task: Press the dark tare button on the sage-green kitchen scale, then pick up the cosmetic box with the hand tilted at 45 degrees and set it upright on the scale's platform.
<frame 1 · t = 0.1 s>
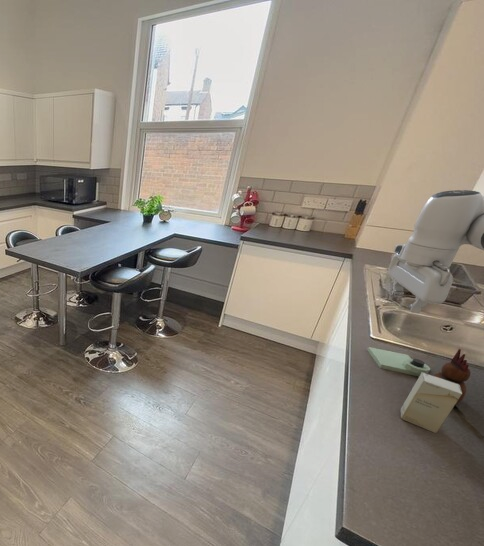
hand: (404, 304, 84), 23 cm above the worktop, tool pointing down, fingers open, 8 cm apart
kitchen scale: (393, 363, 97), on the worktop
tare button: (417, 363, 92), point 3 cm above the worktop, slide at 0.1 cm
wooden figurine: (438, 400, 83), on the worktop
cosmetic box: (417, 421, 76), on the worktop
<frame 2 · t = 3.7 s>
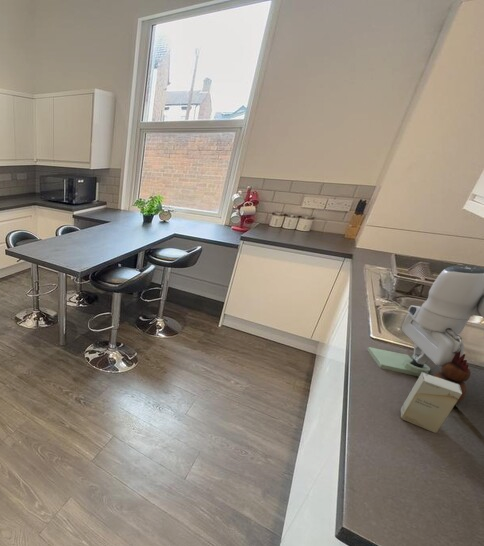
hand: (417, 361, 92), 4 cm above the worktop, tool pointing down, fingers closed, pressing on tare button
tare button: (417, 363, 92), point 3 cm above the worktop, slide at 0.0 cm, touching gripper
everything else where it was.
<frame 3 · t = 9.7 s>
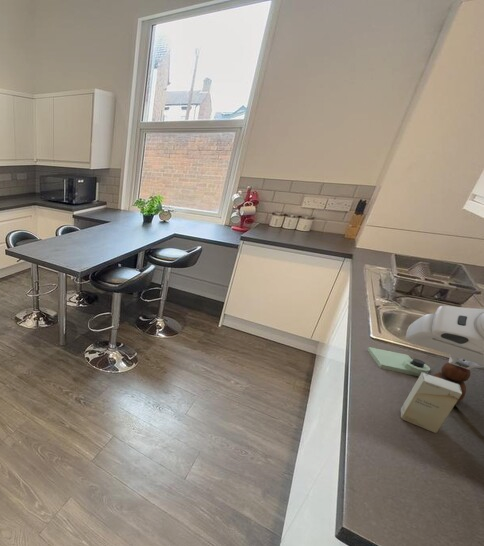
hand: (458, 363, 66), 20 cm above the worktop, tool tilted 35°, fingers closed
tare button: (417, 363, 92), point 3 cm above the worktop, slide at 0.1 cm
everything else where it was.
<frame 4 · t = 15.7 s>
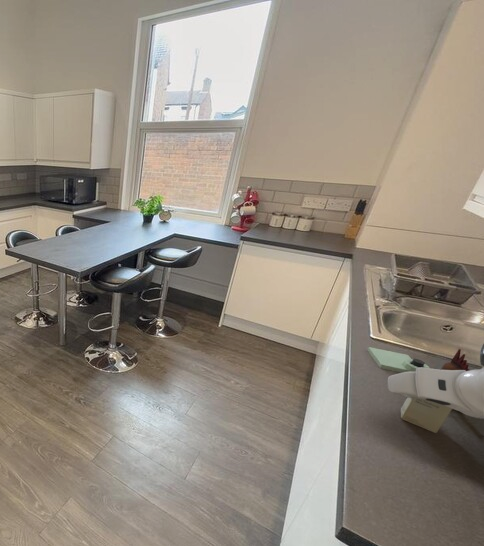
hand: (428, 398, 74), 7 cm above the worktop, tool tilted 45°, fingers closed on cosmetic box, 7 cm apart
cosmetic box: (417, 421, 76), on the worktop, touching gripper
everything else where it was.
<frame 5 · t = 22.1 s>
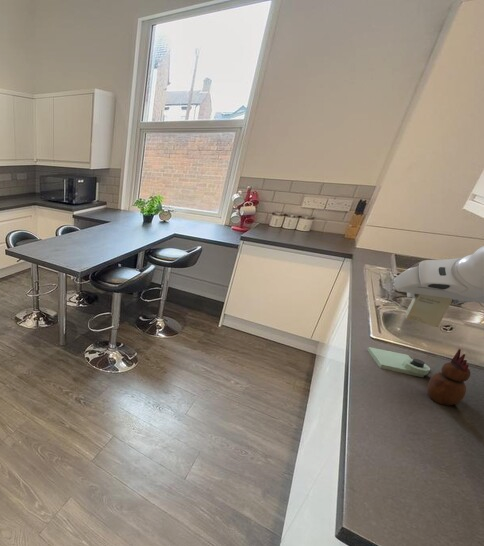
hand: (430, 298, 83), 25 cm above the worktop, tool tilted 45°, fingers closed on cosmetic box, 7 cm apart
cosmetic box: (420, 321, 85), point 18 cm above the worktop, touching gripper
everything else where it was.
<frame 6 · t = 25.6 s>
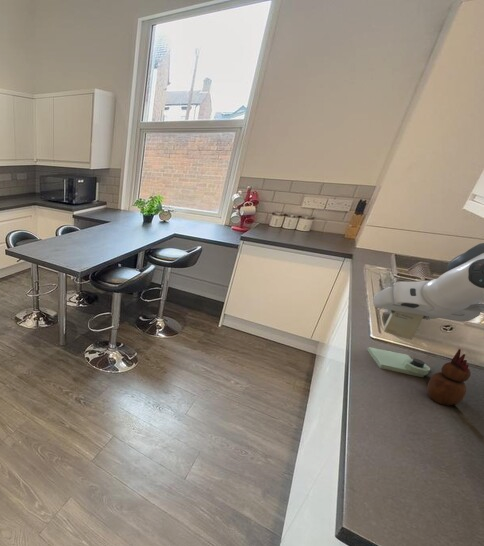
hand: (405, 314, 93), 16 cm above the worktop, tool tilted 45°, fingers closed on cosmetic box, 7 cm apart
cosmetic box: (397, 334, 95), point 9 cm above the worktop, touching gripper
everything else where it was.
when the fingers open (8 cm above the worktop, at t = 28.6 s): cosmetic box stays where it is, resting on kitchen scale.
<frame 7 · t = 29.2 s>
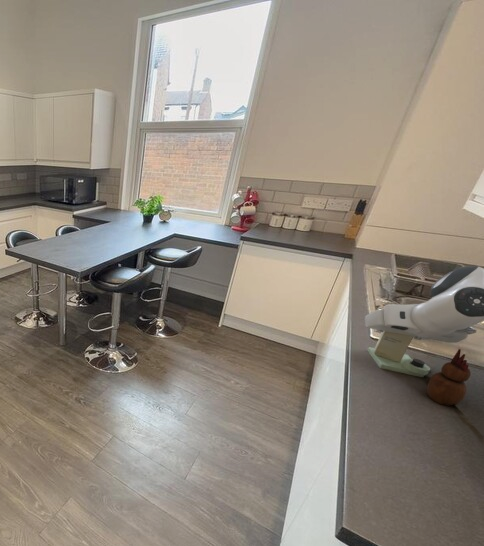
hand: (396, 333, 96), 9 cm above the worktop, tool tilted 45°, fingers open, 8 cm apart
cosmetic box: (386, 356, 98), point 1 cm above the worktop, touching kitchen scale
everything else where it was.
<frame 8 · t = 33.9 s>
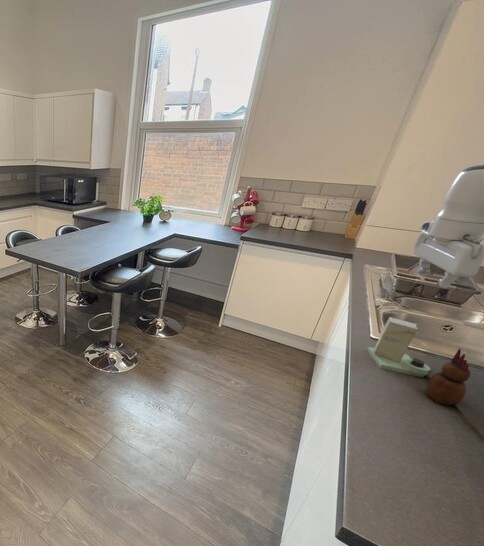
hand: (431, 280, 84), 29 cm above the worktop, tool pointing down, fingers open, 8 cm apart
nothing on the worktop moved.
at the end: tare button pushed in 0.9 cm at the most during the clip, back to where it started at the end; cosmetic box inside the target area on the kitchen scale (2.1 cm from its centre), point 1.2 cm above the kitchen scale's base; cosmetic box tilted 0° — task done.
